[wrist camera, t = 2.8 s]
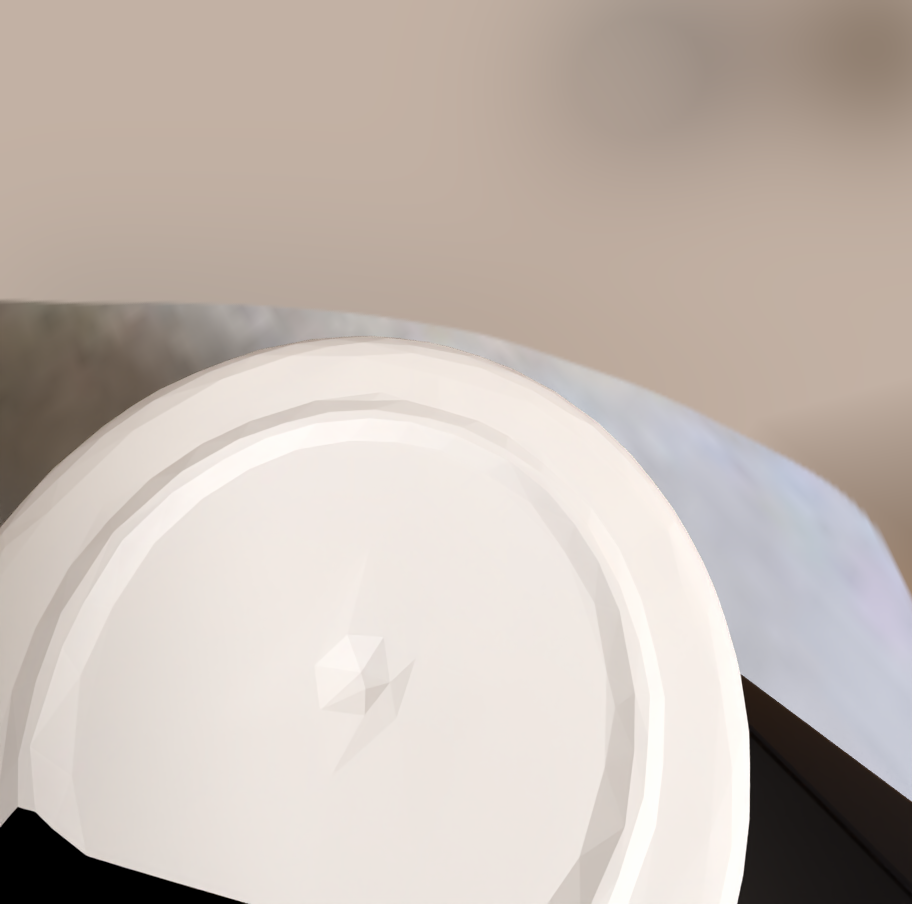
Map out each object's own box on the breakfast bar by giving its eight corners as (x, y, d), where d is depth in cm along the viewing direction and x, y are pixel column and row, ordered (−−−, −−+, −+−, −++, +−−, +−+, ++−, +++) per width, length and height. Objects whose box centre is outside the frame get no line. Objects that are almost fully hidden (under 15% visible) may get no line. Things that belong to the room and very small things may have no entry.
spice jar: (492, 623, 15) (897, 584, 3) (406, 756, 14) (463, 2055, 1) (384, 540, 16) (323, 202, 3) (289, 657, 14) (-484, 830, 2)
